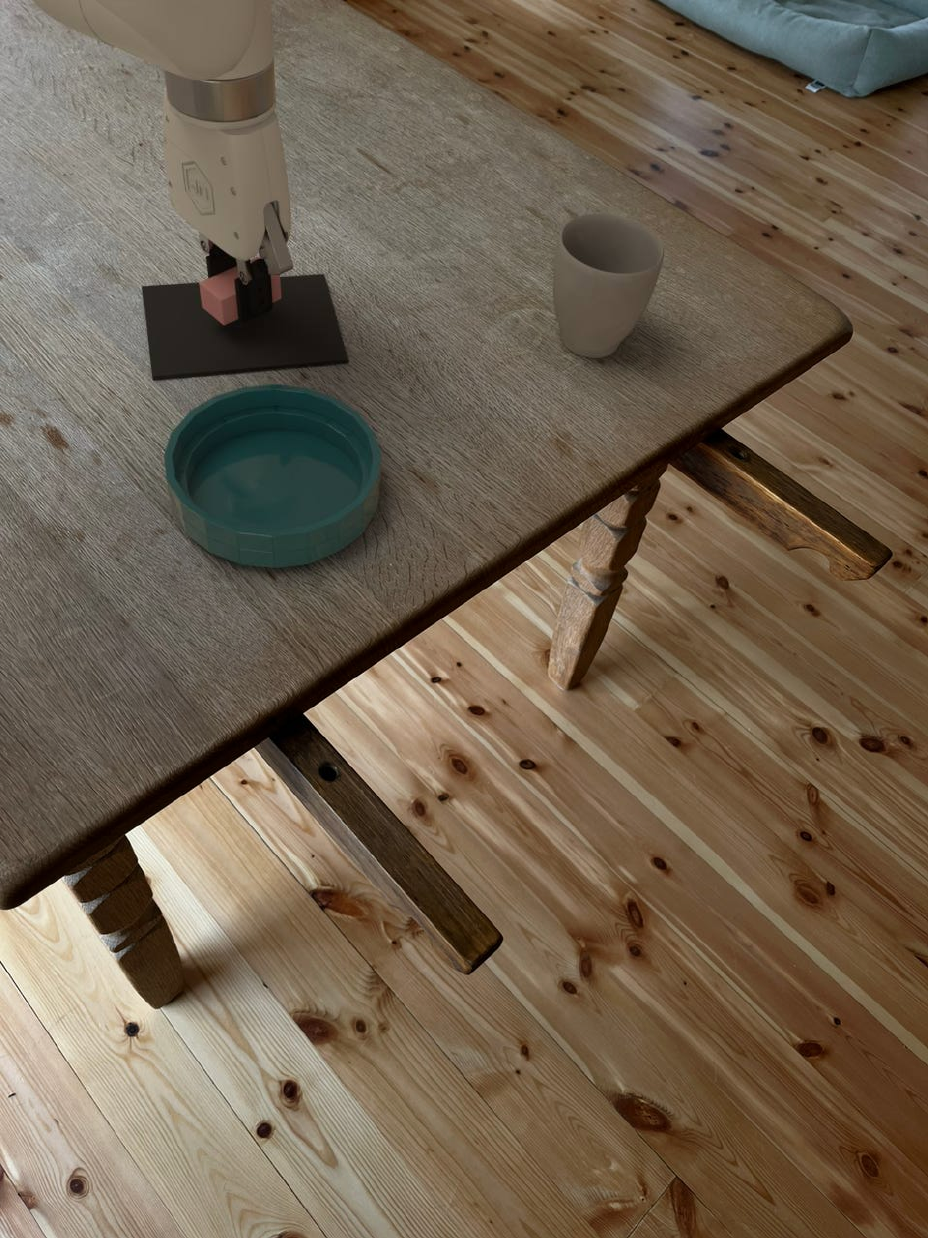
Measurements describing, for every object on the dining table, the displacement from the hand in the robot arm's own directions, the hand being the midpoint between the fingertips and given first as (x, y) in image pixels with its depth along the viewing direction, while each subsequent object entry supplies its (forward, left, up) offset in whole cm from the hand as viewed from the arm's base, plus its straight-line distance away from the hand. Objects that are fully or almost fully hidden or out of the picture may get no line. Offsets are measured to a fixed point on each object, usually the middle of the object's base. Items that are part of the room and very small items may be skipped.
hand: (241, 301), depth 85 cm
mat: (0, 0, -2) cm, 2 cm away
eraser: (0, 0, 0) cm, 0 cm away
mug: (+30, -4, -3) cm, 30 cm away
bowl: (0, -20, -2) cm, 20 cm away
